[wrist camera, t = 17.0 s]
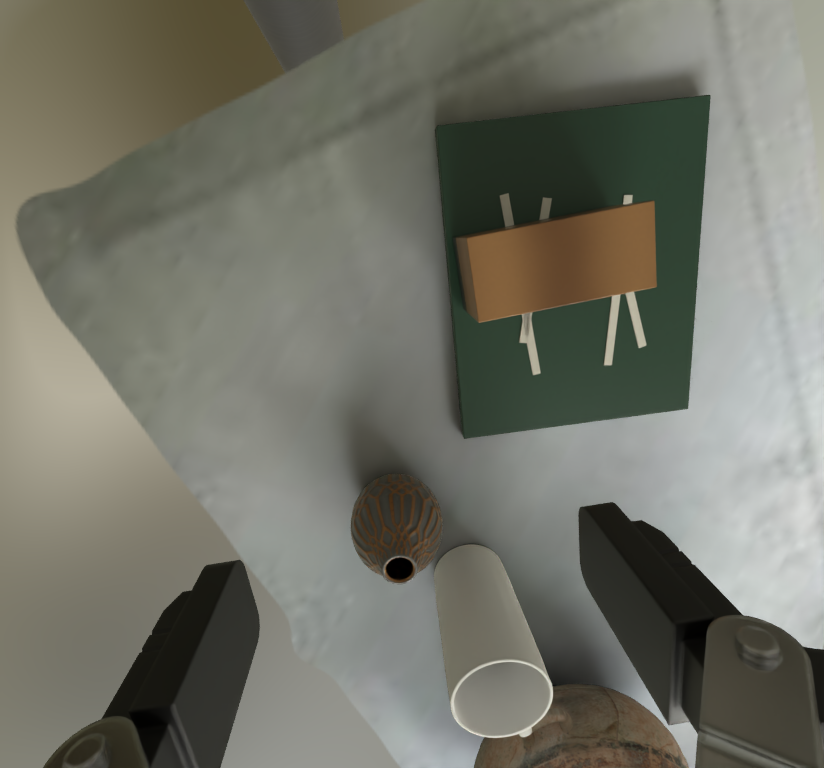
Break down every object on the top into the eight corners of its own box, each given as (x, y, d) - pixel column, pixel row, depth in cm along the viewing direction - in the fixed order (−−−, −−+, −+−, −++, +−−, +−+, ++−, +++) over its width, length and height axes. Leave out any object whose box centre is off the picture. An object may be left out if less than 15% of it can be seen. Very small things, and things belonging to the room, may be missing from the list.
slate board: (434, 128, 31) (436, 124, 30) (701, 98, 32) (712, 93, 30) (461, 434, 38) (464, 439, 37) (680, 404, 38) (689, 409, 37)
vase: (452, 487, 39) (473, 555, 31) (405, 547, 41) (412, 628, 32) (383, 445, 38) (385, 506, 29) (337, 509, 39) (326, 584, 31)
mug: (418, 559, 41) (433, 684, 30) (488, 528, 41) (532, 643, 29) (462, 639, 44) (492, 781, 33) (529, 611, 44) (582, 745, 32)
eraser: (609, 205, 32) (654, 200, 27) (613, 279, 34) (657, 287, 28) (451, 237, 32) (466, 237, 27) (463, 309, 34) (478, 323, 28)
